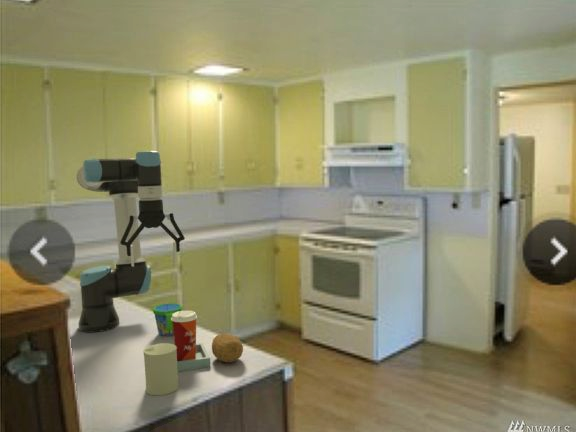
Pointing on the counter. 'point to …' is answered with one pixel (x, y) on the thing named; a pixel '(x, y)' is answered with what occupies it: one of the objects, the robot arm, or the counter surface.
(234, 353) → the potato
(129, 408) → the counter surface
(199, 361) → the tray
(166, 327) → the snack cup
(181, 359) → the coffee cup
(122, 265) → the robot arm
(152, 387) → the can
